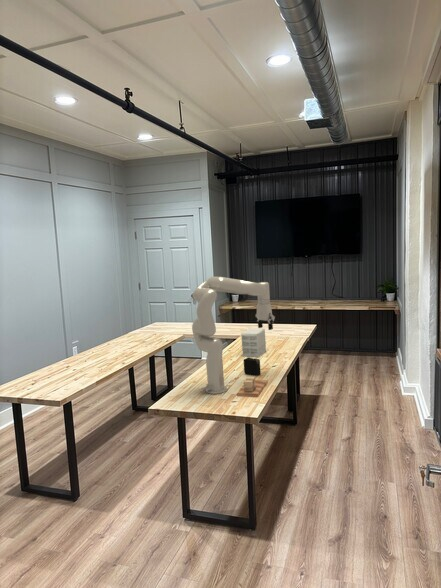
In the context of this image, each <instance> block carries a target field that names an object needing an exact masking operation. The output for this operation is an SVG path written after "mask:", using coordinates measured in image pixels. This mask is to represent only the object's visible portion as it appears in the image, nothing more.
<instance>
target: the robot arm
mask: <svg viewBox="0 0 441 588" xmlns="http://www.w3.org/2000/svg"><path fill="white" fill-rule="evenodd" d="M217 292H222V293H230V294H237V295H248V296H256V297H257V304H256V305H257V306H256V313H255V315H254V316H255V319H256V322H257V327H258V328H257V329H263V326H264V325H263V321H265V322H266V321H267V323H268V325H267V327H268V331H270V330H271V331H272V330H273V329H274V327H273V326H274V325H273V324H274V322H275V318H276V316H275V315H273V310H272V305H271V297H270V293H271V292H270V283H269V282H267V281H261V282H254V281H248V280H243V279H237V278H230V277H225V276H210V277H209V278H207V279H206V280H205V281H203V282H202V283H201V284H200V285H198V286H197V287H196V288H195V289H194V290H193V293H192V298H193V299H194V301H195V302H196V303H198V305H197V308H196V316H197V317H196V319H194V320H193V323H192V325H191V330H192V334H193V338H194V341H195V344H196V347H197V348H198V350H200V351H201V352H204V353H205V352H206V354H207V355H206V358H205V366H206V367H205V368H206V377H207V383H206V384H205V386H202V387H201V389H200V390H201V392H204V391H205V392H206V393H207V394H211V395H218V394H223V393H225V392H227V390H228V387H227V385H225V377H224V367H223V366H224V364H223V362H224V361H223V351H224V345H223V341H222V340H221V339H220V338H218V337H215V336H214V335H215V334H216V332H217V328H216V324H215V320H214V317H213V316H214V315H213V310H212V309H213V306H214V304H215V302H216V300H217V298H218V293H217Z"/></svg>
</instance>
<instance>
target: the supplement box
mask: <svg viewBox="0 0 441 588" xmlns="http://www.w3.org/2000/svg"><path fill="white" fill-rule="evenodd" d="M265 330H266V329H265V328H248V329H246V330H245V331H243V332H241V333H240V335H241V337H240V338H241V350H242V357H243V358H256V359H259V358H260V357H261V356H262V355H264V354H265V353H266V352H267V345H266V343H267V342H266V331H265Z"/></svg>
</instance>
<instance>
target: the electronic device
mask: <svg viewBox="0 0 441 588" xmlns="http://www.w3.org/2000/svg"><path fill="white" fill-rule="evenodd" d="M260 361H261V360H260V359H259V358H255V357H245V358H244V359H243V372H244V374H245V375H247V376H253V377H257V376H260V375H261V373H262V371H261V362H260Z"/></svg>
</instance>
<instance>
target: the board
mask: <svg viewBox="0 0 441 588" xmlns="http://www.w3.org/2000/svg"><path fill="white" fill-rule="evenodd" d="M268 382H269V380H268V379H255V389H254V391H253V392H244V384H243V385H242V386H241V387H240V389H239V390H238V391H237V392H236V397H251V398H258V397H259V396H260V394H261V393H263V392H262V391H263V390H264V389H265V387H266V386H267V384H268Z"/></svg>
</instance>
